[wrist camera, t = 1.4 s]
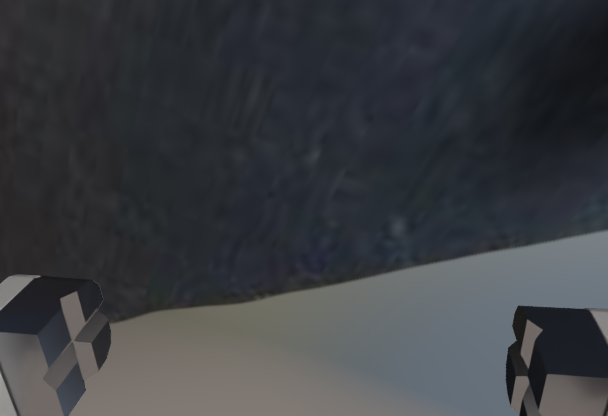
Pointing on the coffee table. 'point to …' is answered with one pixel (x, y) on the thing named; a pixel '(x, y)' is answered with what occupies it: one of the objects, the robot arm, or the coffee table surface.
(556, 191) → the coffee table surface
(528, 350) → the robot arm
